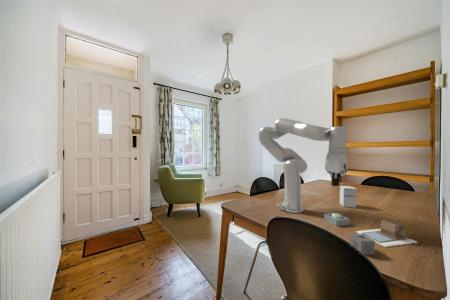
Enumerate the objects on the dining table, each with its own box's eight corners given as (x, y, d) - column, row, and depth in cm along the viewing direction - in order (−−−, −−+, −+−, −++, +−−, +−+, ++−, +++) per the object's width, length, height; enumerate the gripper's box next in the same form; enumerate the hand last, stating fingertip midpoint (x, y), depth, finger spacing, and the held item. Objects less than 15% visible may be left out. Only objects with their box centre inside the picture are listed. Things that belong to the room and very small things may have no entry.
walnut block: (394, 238, 71) (394, 225, 71) (380, 232, 77) (380, 220, 77) (405, 237, 72) (405, 224, 72) (390, 231, 78) (391, 219, 78)
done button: (336, 223, 87) (336, 216, 87) (329, 220, 91) (329, 213, 91) (343, 223, 88) (343, 215, 87) (336, 219, 92) (336, 212, 92)
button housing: (336, 226, 85) (336, 220, 85) (324, 219, 92) (324, 214, 92) (349, 224, 86) (350, 219, 86) (336, 218, 94) (336, 213, 94)
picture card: (385, 247, 67) (385, 245, 67) (356, 232, 78) (356, 230, 78) (417, 243, 70) (417, 241, 70) (384, 229, 81) (384, 227, 81)
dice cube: (362, 246, 67) (363, 234, 67) (374, 254, 62) (374, 241, 62) (350, 247, 67) (350, 234, 67) (361, 254, 62) (361, 241, 62)
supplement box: (343, 206, 113) (343, 187, 113) (339, 203, 120) (339, 185, 120) (356, 208, 111) (356, 188, 111) (351, 204, 118) (352, 186, 118)
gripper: (320, 149, 96) (318, 182, 96) (343, 151, 81) (341, 189, 82) (331, 150, 97) (330, 182, 98) (356, 151, 82) (354, 189, 83)
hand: (335, 185), depth 90 cm, fingers closed
